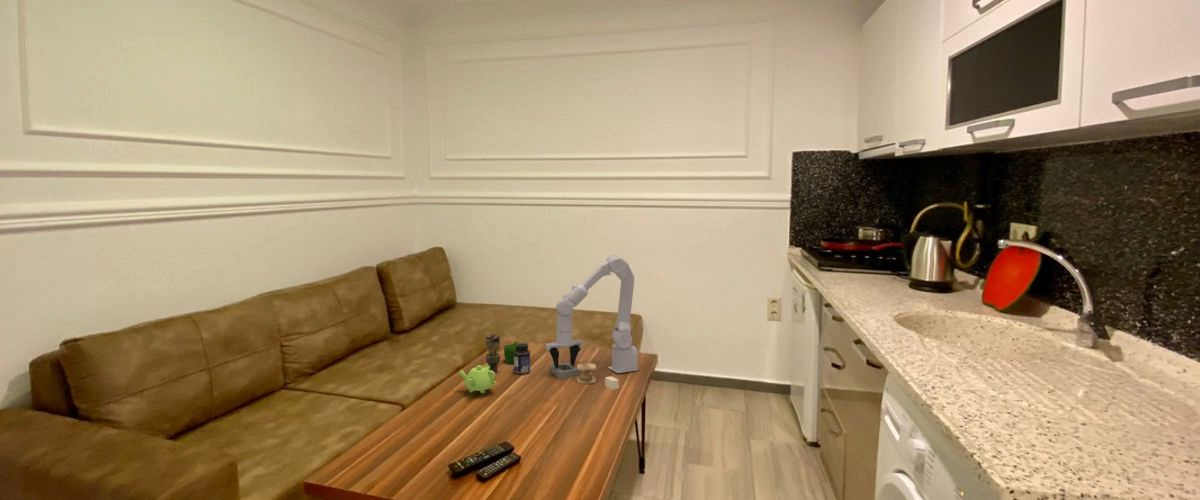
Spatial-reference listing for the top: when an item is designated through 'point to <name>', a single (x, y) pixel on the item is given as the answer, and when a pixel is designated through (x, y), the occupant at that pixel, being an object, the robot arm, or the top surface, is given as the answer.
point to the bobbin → (586, 373)
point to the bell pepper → (510, 352)
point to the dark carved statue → (492, 351)
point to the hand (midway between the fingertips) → (564, 366)
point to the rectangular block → (612, 383)
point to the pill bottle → (522, 359)
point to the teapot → (479, 379)
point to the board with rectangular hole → (567, 373)
